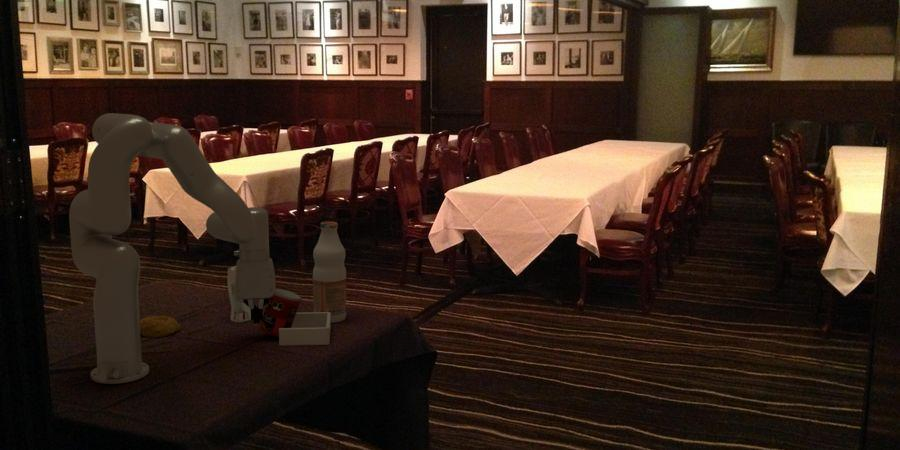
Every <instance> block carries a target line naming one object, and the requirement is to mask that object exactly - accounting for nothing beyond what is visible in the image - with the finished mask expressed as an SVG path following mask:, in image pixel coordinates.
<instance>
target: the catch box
mask: <svg viewBox="0 0 900 450" xmlns="http://www.w3.org/2000/svg"><path fill="white" fill-rule="evenodd" d="M331 324H332V323H331V312H313V311H312V312H311V311H310V312H296V315H295V318H294V321H293V324H292V327H291V328H279V337H278V340H279V341H278V345H279V346H280V347H281V346H321V345H323V346H324V345H328V346H329V345H330V341H331V329H332V328H331V327H332V325H331Z"/></svg>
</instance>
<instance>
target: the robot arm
mask: <svg viewBox="0 0 900 450" xmlns="http://www.w3.org/2000/svg"><path fill="white" fill-rule="evenodd" d="M91 134H92V136H93V139H94V141H95V142H96V143H97V145H96V146H95V148H94V149H93V151H92V153H91V155H90V158H89V161H88V165H87V166H88V167H87V189H84V190H82V191H80V192H79V193H77V194H76V195H75V196H74V198H72V199H73V200H72V201H71V204H70V207H69V213H68V215H69V216H68V219H69V232H70V234H69V235H70V245H71V246H70V247H71V255H72V256H71V257H72V261H73V263H74V265H75V267H76V269H78V270H79V271H80V272H81V273H82V274H85V275H87V276H89V277H93V278H95V280H96V282H95V288H94V290H93V299H92V303H93V305H92V306H93V316H94V319H93V320H94V332H95V333H94V334H95V335H94V336H95V347H96V367H95V368H93V369H92V370H91V371H90V379H91V381H93V382H95V383H98V384H104V385H106V384H107V385H117V384H126V383H131V382H134V381H137V380H141V379H143V378H144V377H146V376H147V375H148V374H149V373H150V366H149V365H148V364H147V363H146V362H143V359H142V341H141V332H140V320H141V319H140V307H139V305H140V304H139V283H140V282H139V281H140V280H139V279H140V274H141V273H140V272H141V259H140V255H139V253H138V252H137V250H136V249H135V248H134V247H133V246H132V245H130V244H129V243H127V242H125V241H121V240H119V239H114V238H113V237H112V236H116V235H120V234H123V233H125V232H126V231H127V230H128V229H129V227H130V225H131V222H132V204H131V190H130V173H131V167H132V165H133V163H134V161H135V159H136V158H137V156H139V157H146V158H153V159H160V160H162V161H163V163H164V164H165V166H166V167H167V168H168V170H169V171H170V173H171V174H172V176H173V177H174V178H175V180H176V181H177V183H178V184H179V186H180V188H181V189H182V190H183V191H184V192H185V193H186V195H188V196H190V197H191V198H192V199H193V200H196V201H198V202H199V203H201V204H203V205H204V206H206V207H207V208H209V209H210V210H211V211H213V212H212V213H211V214H209V216H208V217H207V219H206V222H205V228H206V231H207V232H208V233H209V235H210V236H212V237H213V238H215V239H218V240H221V241H226V242H230V243H234V244H239V245H238V246H239V249H238V250H234V251H233V256H234V257H238V258H239V259H237V261H236V265H235V266H236V276H235V292H236V299H235V300H236V301H237V302H242V303H245V304H246V305H247V306H248V307H249V308H250V309H251V320H250V321H253V324H254V325H256V324H258V325H259V324H261V321H262V318H263V315H264V313H263V312H264V311H263V309H264V307H265V306H267V303H268V301H269V298H272V297H273V296H274V294H275V289H277V284H276V274H275V267H274V262H273V259H272V258H271V257H270V242H269V241H270V236H269V235H270V233H269V212H268V211H267V209H266V208H263V207H256V206H254V207H249V206H248V204H247V203H246V202H245V201H244V199H243V198H242V197H241V195H239V194H238V192H236V191H235V190H234V189H233V188H232V187H231V186H230V185H229V184H227V182H226V181H225V180H224V179H222V177H220V176H219V175H218V174H217V173H216V172H215V170H214V169H213V168H212V166H211V164H210V163H209V162H208V160H207V158H206V156H204V154H203V153H202V152H203V151H202V150H201V149H200V148H199V146H198V144H197V143H196V141H195V140H194V138H193V137H192V135H191V133H190V132H189V131H188V130H187V129H186V128H185V127H183V126H181V125H179V124H177V125H176V124H169V123H159V122H151V121H149V120H147V119H146V118H145V117H143V116H140V115H137V114H129V113H115V112H114V113H113V112H112V113H110V112H109V113H105V114H102V115H100V116H99V117H98V118H97V119H96V120H95V121H94V123H93V125H92V130H91ZM255 300H258V304H257V306H256V304H255Z"/></svg>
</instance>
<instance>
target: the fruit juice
mask: <svg viewBox="0 0 900 450" xmlns="http://www.w3.org/2000/svg"><path fill="white" fill-rule="evenodd" d="M319 227H320V230H321V231H320V235H319V238H318V240H317V243H316V244H315V247H314V248H313V252H312V257H313V261H314V266H313V269H312V303H313V304H312V305H313V306H312V312H331V324H333V323H335V324H336V323H339V322H343V321H344V320H346V318H347V269H346V266H345V259H346V248H345V247H344V245H343V244H342V242H341V239H340V237H339V234H338V228H339V223H338V222H337V221H322V222H320V225H319Z"/></svg>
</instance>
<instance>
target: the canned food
mask: <svg viewBox="0 0 900 450" xmlns="http://www.w3.org/2000/svg"><path fill="white" fill-rule="evenodd" d="M301 299H302V297H301V296H300V295H299V294H297V293H295V292H293V291H290V290H286V289H282V288H276V289H275V294H274V296H273V297H272V298H269V301H268V303H267V304H266V305H265V306H266V307H265V309H264V311H263V312H264V313H263V318H262V320H261V321H260V325H259V329H260V330H261V331H262V332H264V333H266V334H268V335H269V336H270V335H271V336H274V337H278V338H279V328H291V327H292V324H293V321H294V318H295V315H296V313H298V309H299V306H300V303H301Z"/></svg>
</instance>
